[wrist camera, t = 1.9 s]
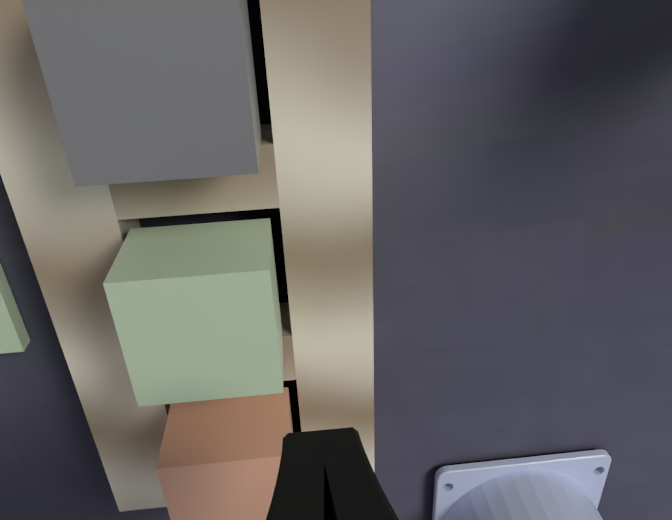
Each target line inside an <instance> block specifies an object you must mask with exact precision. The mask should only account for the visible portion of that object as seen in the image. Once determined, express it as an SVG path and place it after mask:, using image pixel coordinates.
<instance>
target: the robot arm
mask: <svg viewBox="0 0 672 520" xmlns="http://www.w3.org/2000/svg"><path fill="white" fill-rule="evenodd" d="M610 463H611V458H610V456H609V454H608V453H607V452H606V451H605V450H601V449H598V450H588V451H579V452H569V453H560V454H551V455H541V456H532V457H522V458H513V459H504V460H494V461H485V462H475V463H466V464H457V465H447V466H443V467H441V468H439V469H438V470H437V471H436V474H435V485H434V499H433V514H432V520H603V519H602V517H601V516H600V514H599V512H598V510H597V508H598V505H599V501H600V498H601V494H602V491H603V487H604V484H605V480H606V477H607V474H608V470H609V467H610ZM266 520H399V519H398V517H397V516H396V514H395V512H394V510H393V508H392V507H391V505H390V503H389V501H388V499H387V497H386V495H385V494H384V492H383V490H382V488H381V486H380V483H379V481H378V479H377V477H376V475H375V473H374V471H373V469H372V467H371V464H370V462H369V460H368V457H367V455H366V453H365V450H364V447H363V445H362V442H361V439H360V436H359V432H358V431H357V430H356V429H354V428H353V427H349V428H338V429H327V430H321V431H320V430H316V431H305V432H295V433H288V434H287V435H286V436H285V437H283V443H282V454H281V460H280V466H279V471H278V476H277V480H276V484H275V489H274V493H273V497H272V501H271V504H270V507H269V511H268V514H267V517H266Z"/></svg>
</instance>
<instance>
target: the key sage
mask: <svg viewBox="0 0 672 520" xmlns="http://www.w3.org/2000/svg"><path fill="white" fill-rule="evenodd" d="M103 286H104V289H105V293H106V296H107V300H108V303H109V307H110V310H111V314H112V317H113V321H114V324H115V328H116V331H117V335H118V338H119V342H120V345H121V349H122V352H123V356H124V359H125V363H126V366H127V370H128V373H129V377H130V380H131V384H132V387H133V390H134V394H135V397H136V401H137V404H138V407H142V406H152V405H162V404H173V403H183V402H193V401H204V400H214V399H225V398H235V397H245V396H256V395H266V394H277V393H283V347H282V323H281V314H280V305H279V295H278V286H277V277H276V267H275V258H274V249H273V239H272V230H271V221H270V218H264V219H251V220H238V221H225V222H212V223H199V224H186V225H173V226H159V227H146V228H133V229H130V230H129V232H128V234H127V236H126V238H125V240H124V242H123V244H122V246H121V248H120V250H119V252H118V254H117V256H116V258H115V260H114V262H113V264H112V266H111V268H110V270H109V272H108V274H107V276H106V278H105V280H104V282H103Z"/></svg>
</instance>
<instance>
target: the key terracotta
mask: <svg viewBox="0 0 672 520" xmlns="http://www.w3.org/2000/svg"><path fill="white" fill-rule="evenodd" d="M288 433H293V426H292V417H291V407H290V398H289V389H288V387H285V388H283V393H277V394H266V395H256V396H245V397H235V398H225V399H214V400H204V401H193V402H183V403H173V404H170V409H169V413H168V418H167V422H166V427H165V431H164V436H163V440H162V445H161V449H160V454H159V458H158V463H157V467H156V471H157V474H158V478H159V481H160V485H161V488H162V492H163V495H164V498H165V502H166V505H167V509H168V512H169V516H170V519H171V520H266V517H267V514H268V511H269V507H270V504H271V501H272V497H273V493H274V489H275V484H276V480H277V476H278V471H279V466H280V460H281V454H282V443H283V437H285V436H286V435H287V434H288Z"/></svg>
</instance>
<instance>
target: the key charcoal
mask: <svg viewBox="0 0 672 520" xmlns="http://www.w3.org/2000/svg"><path fill="white" fill-rule="evenodd" d="M22 4H23V7H24V11H25V14H26V18H27V21H28V25H29V28H30V32H31V35H32V39H33V42H34V46H35V49H36V53H37V56H38V60H39V63H40V66H41V70H42V73H43V77H44V80H45V84H46V87H47V91H48V94H49V98H50V101H51V105H52V108H53V112H54V115H55V119H56V122H57V126H58V129H59V133H60V136H61V140H62V143H63V147H64V150H65V154H66V157H67V161H68V164H69V168H70V171H71V174H72V178H73V181H74V185H75V187H78V186H92V185H106V184H120V183H134V182H148V181H162V180H176V179H191V178H205V177H219V176H233V175H247V174H259V160H260V145H261V127H260V118H259V108H258V99H257V90H256V80H255V71H254V62H253V52H252V43H251V34H250V24H249V15H248V6H247V0H22Z"/></svg>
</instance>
